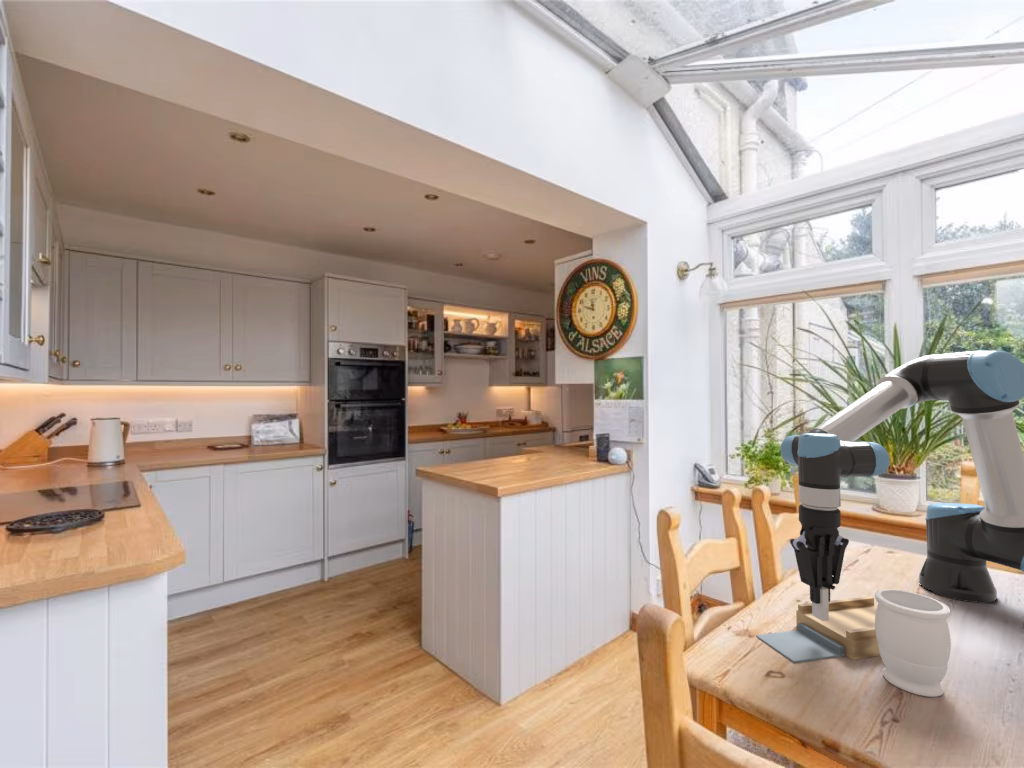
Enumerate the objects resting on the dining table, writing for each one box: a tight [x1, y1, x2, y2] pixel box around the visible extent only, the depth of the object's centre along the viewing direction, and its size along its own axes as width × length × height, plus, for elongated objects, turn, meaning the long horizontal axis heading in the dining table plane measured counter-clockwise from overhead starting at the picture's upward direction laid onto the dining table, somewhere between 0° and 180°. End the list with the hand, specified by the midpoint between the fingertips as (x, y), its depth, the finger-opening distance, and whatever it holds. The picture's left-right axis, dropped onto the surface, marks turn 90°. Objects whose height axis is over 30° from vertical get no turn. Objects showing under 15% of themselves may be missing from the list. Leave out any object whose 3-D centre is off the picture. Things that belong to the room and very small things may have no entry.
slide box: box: [795, 596, 881, 660], centre depth 103 cm, size 20×14×5 cm
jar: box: [874, 588, 952, 698], centre depth 86 cm, size 11×10×15 cm
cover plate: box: [755, 623, 846, 664], centre depth 99 cm, size 12×10×3 cm
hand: (820, 617), depth 100 cm, fingers closed
